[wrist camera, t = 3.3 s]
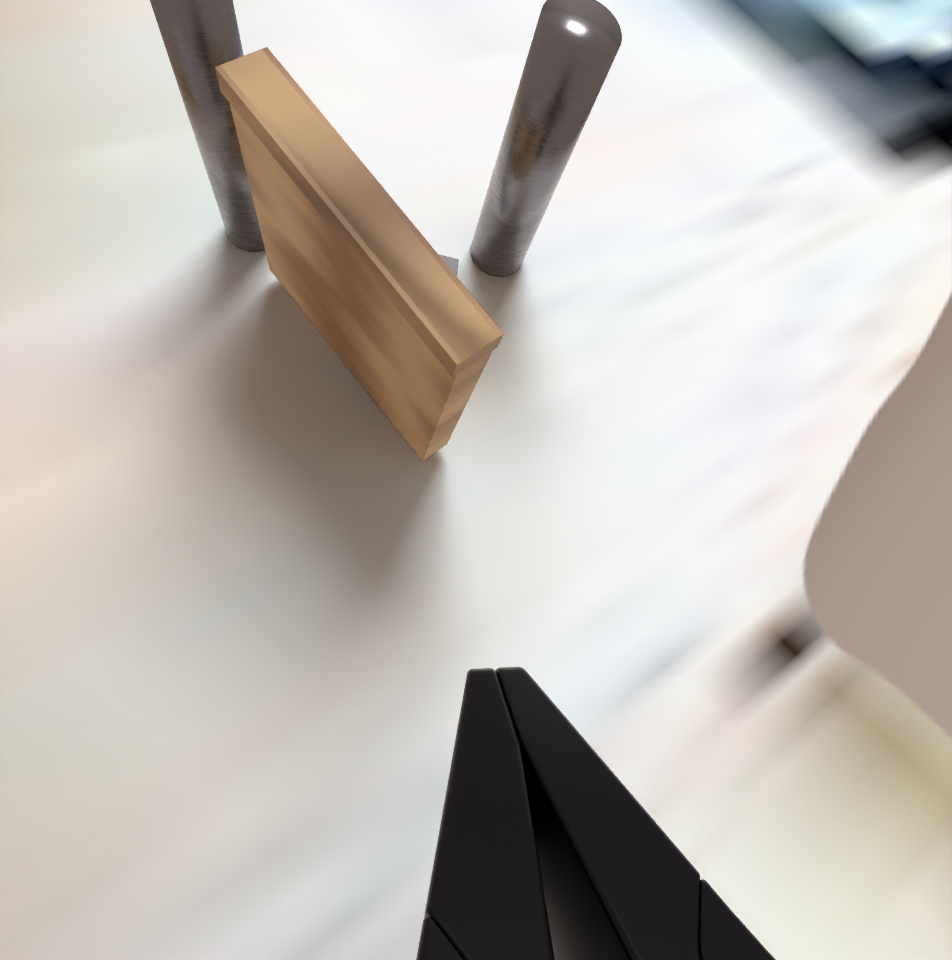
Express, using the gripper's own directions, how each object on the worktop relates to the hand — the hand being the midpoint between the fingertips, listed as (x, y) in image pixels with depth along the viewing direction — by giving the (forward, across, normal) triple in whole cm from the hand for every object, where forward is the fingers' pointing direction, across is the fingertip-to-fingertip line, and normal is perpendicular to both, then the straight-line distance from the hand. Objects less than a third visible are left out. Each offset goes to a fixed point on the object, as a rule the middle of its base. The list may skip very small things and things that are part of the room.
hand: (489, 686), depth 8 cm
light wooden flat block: (+16, +2, 0) cm, 16 cm away
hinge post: (+21, +7, -3) cm, 22 cm away
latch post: (+21, -4, -4) cm, 21 cm away
